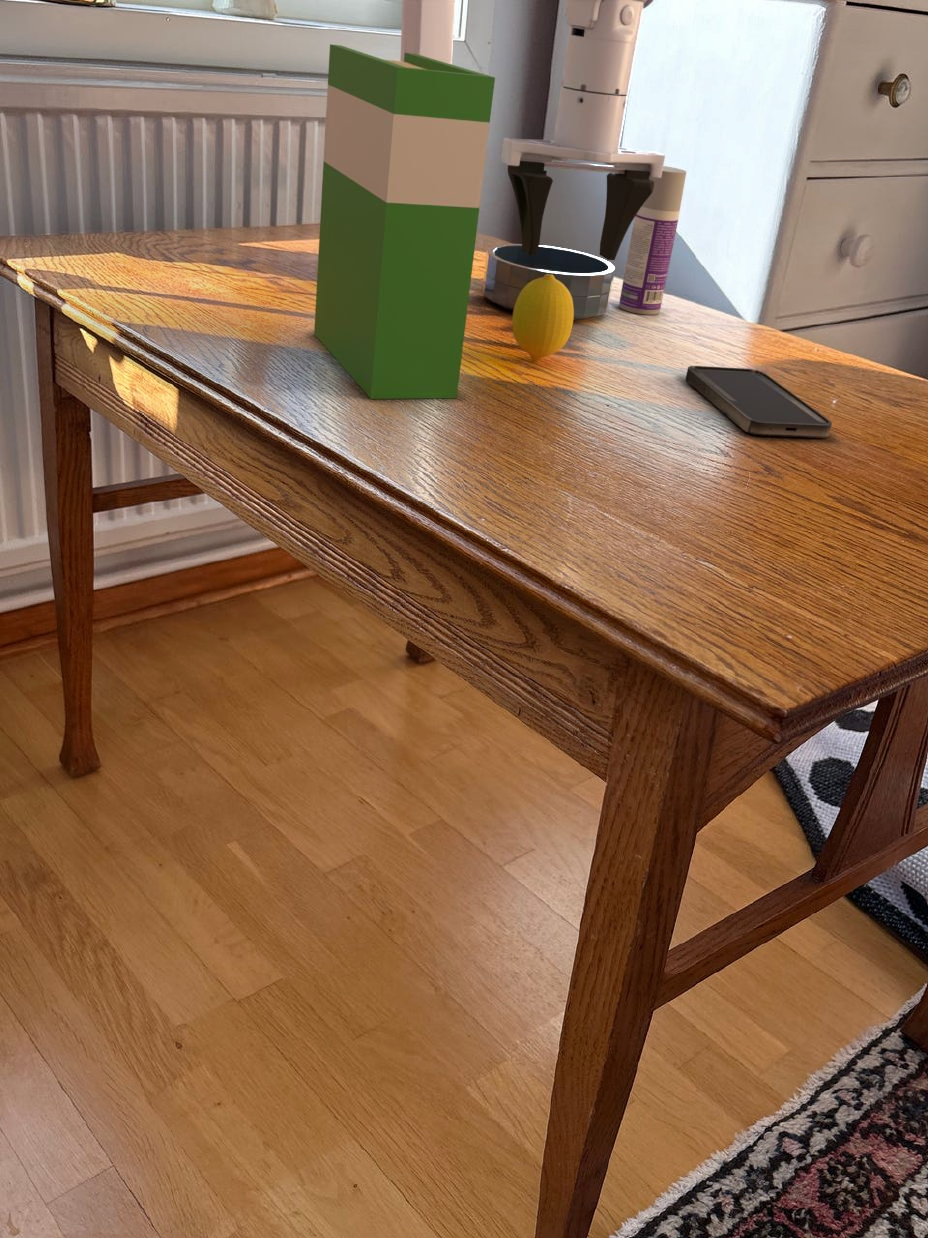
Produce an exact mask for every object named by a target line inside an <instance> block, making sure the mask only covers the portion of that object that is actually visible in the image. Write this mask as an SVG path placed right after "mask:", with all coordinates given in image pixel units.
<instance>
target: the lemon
mask: <svg viewBox="0 0 928 1238" xmlns="http://www.w3.org/2000/svg"><path fill="white" fill-rule="evenodd" d="M573 318H574V308H573V300H572V297H571V294H570V292H569V291H568V289H567V288H566V287H565V286H564V285H563V284H562V283H561V282H560V281H558V280H556V279H555V277H554V276H553V275H551V274H546V275H545V276H544V277H542V278H538V279H535V280H533V281H531V282H530V283H528V284H527V285H526V286H525V287H524V288H523V289H522V291H521V292H520V294H519V296H518V298H517V301H516V304H515V307H514V311H512V319H511V322H512V324H511V325H512V326H511V327H512V333H513V337H514V339H515V342H516V343H517V345H518V346H519V347H520V349H522V351H524V352H525V353H527V354H528V355H529V357H530V358H531V360H532V361H534V362H537V363H539V362H541V361H542V360H544V359H545V358H546V357H548V356H552V355H554V354H556V353H557V352H559V351H560V350H561V349H562V348H563V347H564V346H565V345H566V343H567V342H568V340H569V338H570V336H571V333H572V330H573V324H574V320H573Z"/></svg>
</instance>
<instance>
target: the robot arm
mask: <svg viewBox="0 0 928 1238" xmlns="http://www.w3.org/2000/svg"><path fill="white" fill-rule="evenodd" d="M401 1H402V2H401V32H400V33H401V34H400V58H399V59H400V60H399V61H402V62H404V56H405V53H413V54H418V55H421V56H424V57H428V58H431V59H435V60H438V61H441V62H445V63H448V64H451V65H453V48H454V32H455V31H454V28H455V11H456V9H455V8H456V0H401ZM653 2H654V0H566V5H565V14H564V17H566V25H569V31H568V36H567V43H566V50H565V58H564V64H563V72H562V78H561V85H560V92H559V100H558V105H557V112H556V119H555V128H554V133H553V140H552V139H531V138H530V139H527V138H512V137H511V138H510V137H509V138H508V137H504V138H503V140H502V148H501V157H500V162H501V163H503V164H504V165H507V174H508V178H509V180H510V183H511V186H512V190H513V192H514V197H515V201H516V205H517V211H518V216H519V223H520V224H519V225H520V234H521V244H522V251H523V252H525V253H526V254H528V255H530V256H537V252H538V248H539V245H540V244H541V243H540V241H541V234H542V224H543V219H544V213H545V209H546V205H547V201H548V198H549V194H550V191H551V188H552V185H553V183H554V179H553V178H552V177H551V176H549V175H547V172H548V171H547V170H545V168H550V169H562V170H563V169H564V170H575V171H586V172H597V173H608V174H607V175H606V201H605V213H604V220H603V225H602V231H601V237H600V241H599V256H601V257H602V258H604V259H605V260H606V261H607V260H608V261H615V260H616V258H617V255H618V254H619V253H618V252H619V250H620V248H621V244H622V243H623V241H624V238H625V236H626V234H627V232H628V230H629V228H630V227H631V224H632V222H634V219H635V216H636V214H637V213H638V211H639V210H640V208H641V207H642V205H643V204H644V203H645V201H646V200H647V199H648V198H649V196H650V195H651V194H652V192H653V189H654V184H655V182H654V181H652V180H650V179H649V177H654V178H661V175H662V170H663V166H665V159H666V155H665V154H663V153H660V152H657V151H654V150H653V151H652V150H643V149H634V148H628V147H621V146H620V144H621V139H622V132H623V127H624V123H625V122H624V121H625V117H626V110H627V104H628V97H629V92H630V87H631V81H632V76H633V69H634V62H635V58H636V51H637V47H638V41H639V33H640V28H641V22H642V17H643V12H644V9H645V8H647V7H648V6H650V5H651V4H652V3H653ZM568 159H570V160H576V161H583V162H593V163H583V162H573V161H568ZM594 163H603V164H594Z"/></svg>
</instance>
